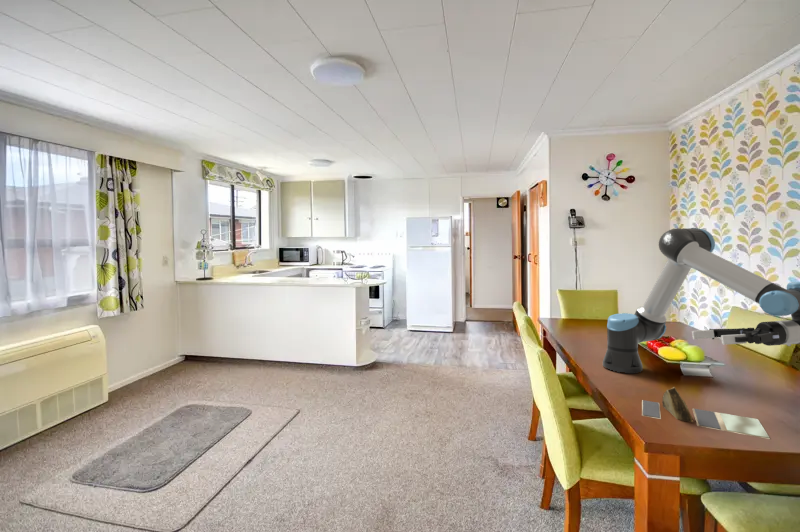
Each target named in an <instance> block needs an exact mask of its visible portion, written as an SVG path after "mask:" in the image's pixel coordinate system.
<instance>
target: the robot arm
mask: <svg viewBox="0 0 800 532" xmlns="http://www.w3.org/2000/svg"><path fill="white" fill-rule="evenodd" d="M715 246H716V240H715V239H714V236H713V235H712V234H711V232H709V231H708V230H706V229H704V228H697V227H690V228H679V227H677V228H672V229H669V230H667V231H665V232H663V234H662V235H661V236H660V238H659V240H658V249H659V250H660V252H661V254H663V256H665V258H667V259H666V260H667V261H666V263H665V265H664V266H663V268H662V270H661V271H660V274H659V276H658V278H657V280H656V281H655V283H654V285H653V287H652V288H651V291H650V293H649V294H648V296H647V298H646V301H645V302H644V304H643V305H642V306H639V307H637V309H636V310H635V313H629V312H627V313H626V312H625V313H624V312H623V313H615V314H611V315H609V316H608V318H607V324H606V335H607V336H606V337H607V342H606V344H607V345H606V346H607V347H606V352H605V354H604V357H603V360H602V367H603V366H604V367H606V368H608V369H610V370H609V371H611V370H613V371H612V372H615V371H617V372H616V373H620V372H625V373H624V374H639V373H638V372H640V373H641V371H642V372H643V363H642V360H641V358H640V354H639V343H644V342H645V343H646V342H652V341H655V340H658V339H660V338H662V337H664V336H665V333H666V331H667V325H666V322H667V317H666V316H665V315H666V314H667V311H668V310H669V308H670V307H671V305H672V302H673V300H674V299H675V298H676V296H677V294H678V292H679V290H680V289H681V287H682V285H683V283H684V282H685V279H686V278H687V276H688V275H689V273H690V271H691V270H692V269H694V270H695V271H697V272H699V273H700V274H703V275H705V276H707V277H709V278H711V279H712V280H714V281H716V282H717V283H720V284H721V285H723V286H725V287H727V288H729V289H731V290H732V291H735V292H736V293H738V294H740V295H742V296H744V297H745V298H747V299H749V300H751V301H752V302H755V303H756V304H758V305H759V307H760V308H761V309H762V311H763V312H764V313H766V314H768V315H771V316H774V317H775V316H776V317H777V316H778V317H784V316H791V319H786V320H784V319H783V320H775V321H774V320H773V321H761V322H759V323H758V324H757V325H756V327H747V328H745V327H740V328H709V329H706V330H705V329H703V330H691V336H692V340H704V339H711V340H715V338H721V345H723V346H724V345H741V344H747V343H748V344H756V345H761V344H763V345H764V346H769V347H770V346H781V345H783V346H784V345H786V346H787V347H791V346H792V345H800V281H793V282H788V283H787V284H786V288H784V287H783V286H780V285H778V284H775V283H774V282H772V281H770V280H768V279H766V278H764V277H762V276H760V275H758V274H756V273H754V272H752V271H751V270H747V269H745V268H743V267H741V266H740V265H737V264H735V263H733V262H732V261H729V260H728V259H726V258H724V257H722V256H719V255H717V254H715V253H713V252H714V249H715ZM604 367H603V368H604ZM606 368H605V369H606ZM608 369H607V370H608Z"/></svg>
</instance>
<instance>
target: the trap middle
mask: <svg viewBox="0 0 800 532" xmlns="http://www.w3.org/2000/svg"><path fill="white" fill-rule="evenodd" d="M693 409H694V410H695V413H696V416H697V420H698V423H699V426H698V427H700V426H705V427H704V428H706V427H710V428H709V429H711V428H716V429H715V430H717V429H721V428H720V426H719V423H718V421H717V418H716V416H715V413H714V412H715V411H710V410H704V409H699V408H693Z"/></svg>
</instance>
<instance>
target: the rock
mask: <svg viewBox="0 0 800 532" xmlns="http://www.w3.org/2000/svg"><path fill="white" fill-rule="evenodd" d="M662 407H663V408H664V409H665V410H666V411H667V412H669V413H670V415H672V416H673V417H674V418H675V419H676V420H680V421H683V422H689V423H694V420H693V417H692V415H691V413H690V411H689V408H688V405H687V404H686V402H685V400H684V399H683V398H682V396H681V395H680V393H679V391H678V390H677V388H676V387H675V386H673V387H671V388H670V389H666V390H665V392H664V393H663V396H662Z"/></svg>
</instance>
